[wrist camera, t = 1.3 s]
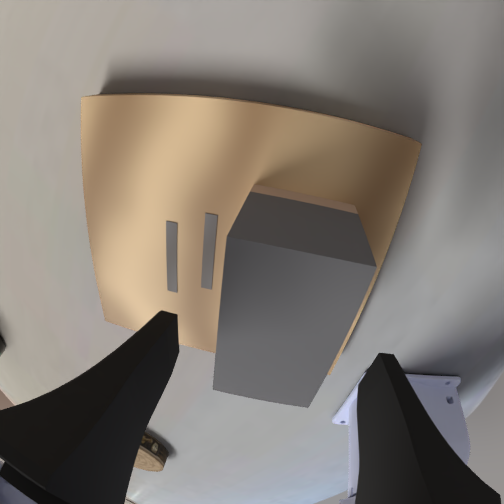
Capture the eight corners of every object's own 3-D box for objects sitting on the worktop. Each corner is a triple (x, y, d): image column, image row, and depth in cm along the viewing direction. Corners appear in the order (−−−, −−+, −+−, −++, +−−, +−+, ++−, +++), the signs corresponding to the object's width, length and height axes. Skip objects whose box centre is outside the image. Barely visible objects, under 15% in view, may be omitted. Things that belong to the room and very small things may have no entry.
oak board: (410, 138, 12) (421, 143, 11) (329, 358, 20) (329, 375, 18) (98, 94, 13) (81, 97, 12) (114, 307, 21) (105, 321, 20)
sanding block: (354, 205, 13) (377, 267, 8) (311, 334, 17) (308, 407, 13) (253, 184, 13) (226, 236, 9) (234, 318, 17) (212, 389, 13)
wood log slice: (125, 452, 43) (120, 464, 40) (61, 401, 37) (53, 415, 34) (189, 460, 37) (184, 476, 34) (114, 404, 31) (105, 422, 28)
